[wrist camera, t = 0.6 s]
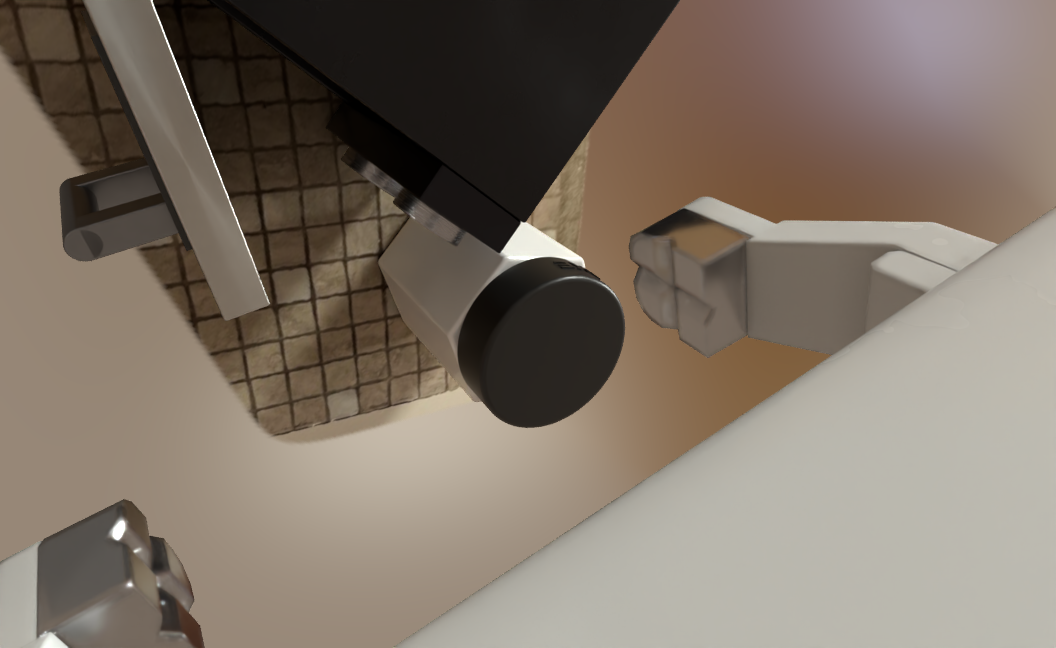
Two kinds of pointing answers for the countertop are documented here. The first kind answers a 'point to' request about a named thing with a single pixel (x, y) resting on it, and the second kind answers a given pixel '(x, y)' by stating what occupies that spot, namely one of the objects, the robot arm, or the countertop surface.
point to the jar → (508, 319)
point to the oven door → (157, 166)
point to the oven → (460, 92)
